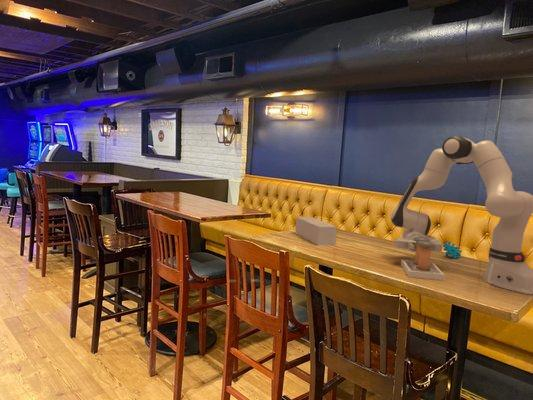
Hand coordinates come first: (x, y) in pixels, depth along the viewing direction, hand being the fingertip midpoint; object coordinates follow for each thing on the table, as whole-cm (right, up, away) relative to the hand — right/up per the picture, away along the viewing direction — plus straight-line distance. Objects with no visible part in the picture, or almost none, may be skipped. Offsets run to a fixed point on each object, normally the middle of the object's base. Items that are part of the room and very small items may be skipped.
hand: (421, 248), depth 178 cm
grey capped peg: (-2, -11, -5) cm, 12 cm away
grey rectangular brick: (-41, -2, +60) cm, 73 cm away
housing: (-1, -11, -2) cm, 11 cm away
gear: (+29, -9, +34) cm, 45 cm away
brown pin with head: (0, -10, +2) cm, 10 cm away
